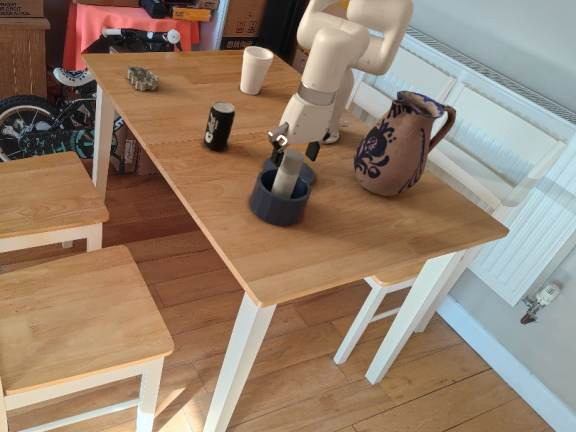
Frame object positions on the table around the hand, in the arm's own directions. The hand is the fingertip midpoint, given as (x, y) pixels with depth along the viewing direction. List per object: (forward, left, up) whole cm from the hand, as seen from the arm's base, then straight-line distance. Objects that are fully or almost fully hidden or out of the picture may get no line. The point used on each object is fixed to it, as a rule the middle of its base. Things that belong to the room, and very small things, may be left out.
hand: (292, 161), depth 115 cm
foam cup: (-26, -56, -14) cm, 63 cm away
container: (0, 0, -13) cm, 13 cm away
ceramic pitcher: (-36, -1, -14) cm, 38 cm away
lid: (-12, -12, -13) cm, 21 cm away
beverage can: (+2, -28, -14) cm, 31 cm away
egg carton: (+9, -65, -14) cm, 67 cm away
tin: (0, 0, -14) cm, 14 cm away
